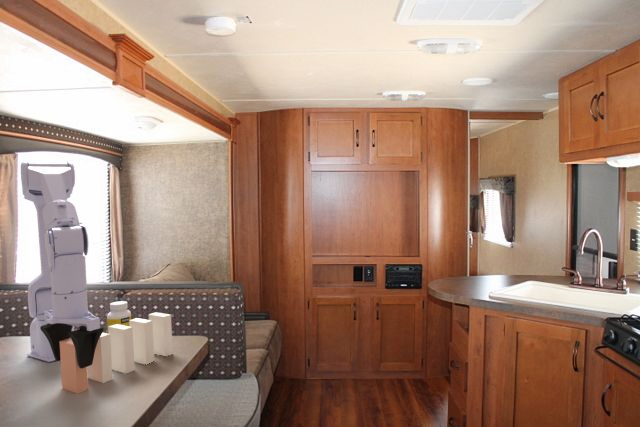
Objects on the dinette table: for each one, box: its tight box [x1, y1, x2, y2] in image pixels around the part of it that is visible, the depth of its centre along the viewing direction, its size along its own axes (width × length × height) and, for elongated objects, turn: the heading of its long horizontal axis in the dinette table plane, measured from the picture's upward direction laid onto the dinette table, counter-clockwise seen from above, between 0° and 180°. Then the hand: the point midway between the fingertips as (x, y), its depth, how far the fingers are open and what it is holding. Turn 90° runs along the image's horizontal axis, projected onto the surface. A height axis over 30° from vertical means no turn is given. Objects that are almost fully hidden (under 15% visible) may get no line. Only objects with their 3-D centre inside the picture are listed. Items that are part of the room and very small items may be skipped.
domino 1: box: [87, 331, 114, 384], centre depth 88 cm, size 2×5×9 cm, turn 60°
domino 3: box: [129, 317, 155, 366], centre depth 97 cm, size 2×5×9 cm, turn 60°
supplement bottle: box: [106, 300, 132, 334], centre depth 110 cm, size 5×5×10 cm
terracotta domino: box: [59, 338, 89, 395], centre depth 84 cm, size 2×5×9 cm, turn 59°
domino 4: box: [148, 311, 174, 357], centre depth 101 cm, size 2×5×9 cm, turn 60°
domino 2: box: [107, 324, 135, 374], centre depth 92 cm, size 2×5×9 cm, turn 59°
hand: (73, 362), depth 84 cm, fingers open, 7 cm apart
